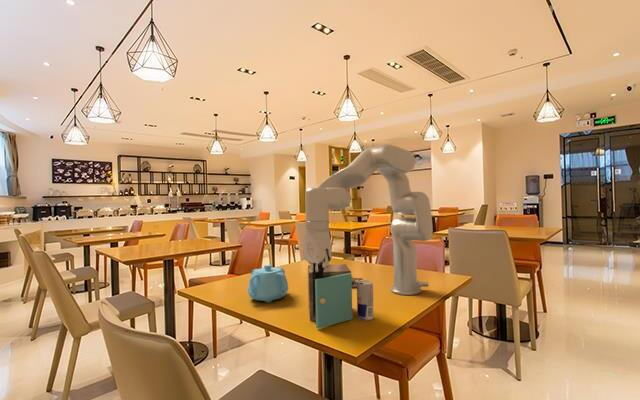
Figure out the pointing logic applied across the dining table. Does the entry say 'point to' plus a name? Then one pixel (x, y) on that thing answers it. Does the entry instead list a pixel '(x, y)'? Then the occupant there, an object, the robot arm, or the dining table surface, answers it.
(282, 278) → the decorative pot
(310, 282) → the cabinet
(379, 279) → the dining table surface
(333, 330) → the dining table surface
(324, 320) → the door
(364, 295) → the energy drink
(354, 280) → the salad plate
